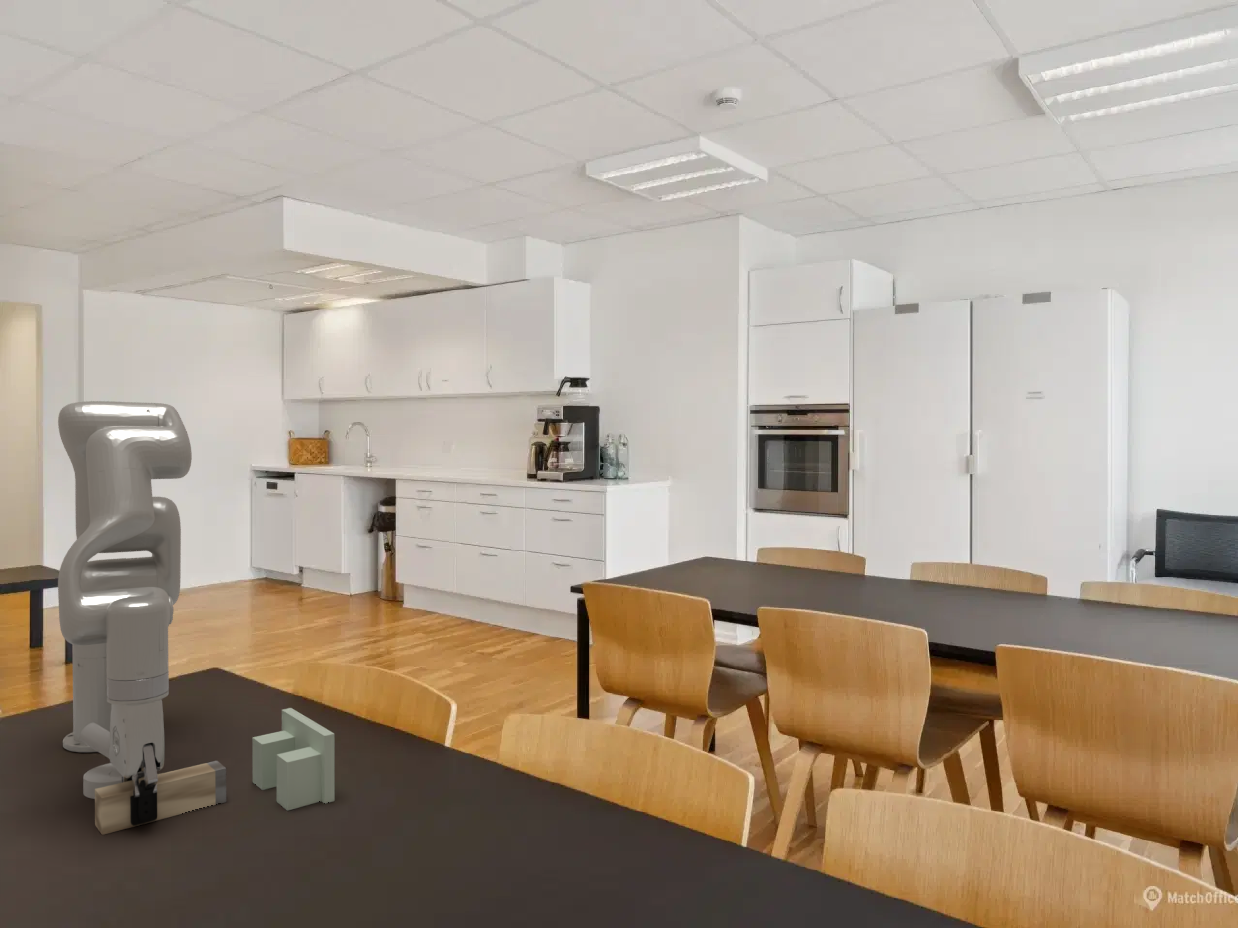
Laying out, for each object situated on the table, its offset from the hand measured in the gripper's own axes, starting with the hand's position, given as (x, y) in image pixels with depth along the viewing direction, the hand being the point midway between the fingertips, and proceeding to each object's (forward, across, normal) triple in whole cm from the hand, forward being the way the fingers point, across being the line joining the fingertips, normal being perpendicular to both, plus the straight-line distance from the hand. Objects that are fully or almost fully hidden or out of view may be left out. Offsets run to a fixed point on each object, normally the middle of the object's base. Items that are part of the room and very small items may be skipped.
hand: (139, 815), depth 122 cm
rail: (+1, 0, +3) cm, 3 cm away
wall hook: (+1, -15, 0) cm, 15 cm away
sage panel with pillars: (0, +4, +19) cm, 19 cm away
